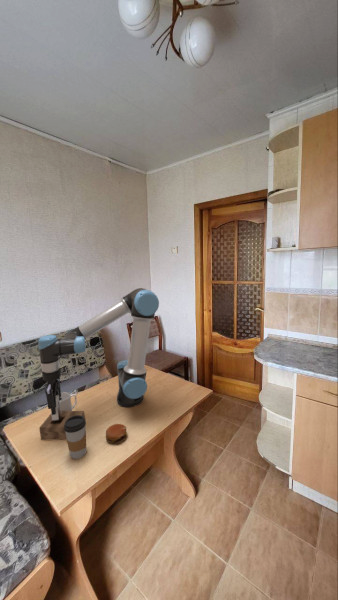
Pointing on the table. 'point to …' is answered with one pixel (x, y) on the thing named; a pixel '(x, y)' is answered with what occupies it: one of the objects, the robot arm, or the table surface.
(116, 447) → the table surface
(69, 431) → the coffee cup
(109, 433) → the burger
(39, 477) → the table surface
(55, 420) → the pin
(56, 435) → the socket block
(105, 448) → the table surface
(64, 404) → the mug
